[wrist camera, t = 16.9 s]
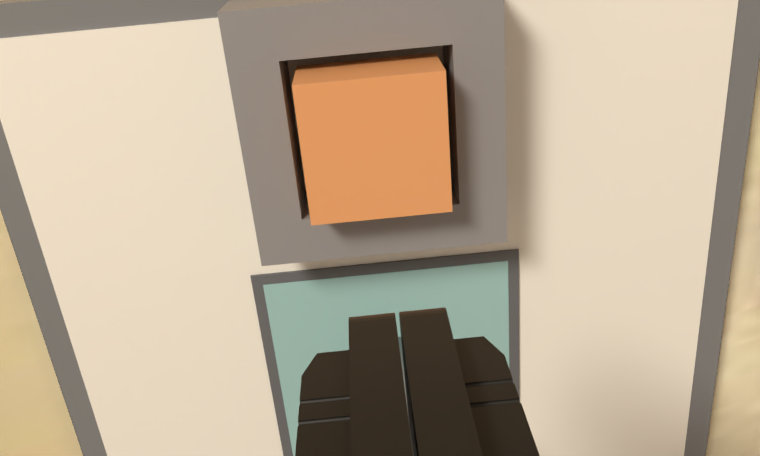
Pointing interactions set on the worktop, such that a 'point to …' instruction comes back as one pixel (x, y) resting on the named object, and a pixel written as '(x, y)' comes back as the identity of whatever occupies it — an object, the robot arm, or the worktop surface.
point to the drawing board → (378, 236)
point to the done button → (374, 138)
